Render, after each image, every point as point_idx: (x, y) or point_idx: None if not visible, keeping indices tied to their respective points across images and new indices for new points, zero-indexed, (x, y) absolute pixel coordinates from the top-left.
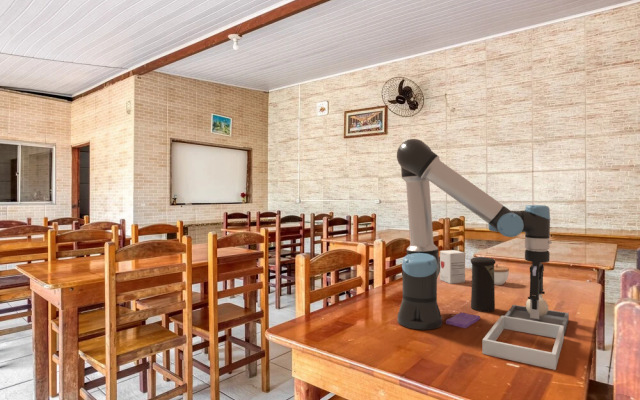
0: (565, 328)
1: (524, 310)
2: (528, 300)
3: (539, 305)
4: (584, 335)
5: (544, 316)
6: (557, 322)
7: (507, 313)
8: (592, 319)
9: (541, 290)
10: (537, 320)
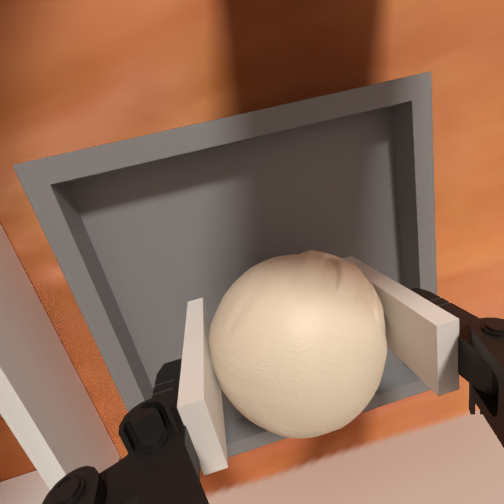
0: None
1: (398, 169)
2: (264, 320)
3: (234, 406)
4: (238, 475)
5: None
6: None
7: (155, 142)
8: (477, 409)
9: (493, 425)
10: None
